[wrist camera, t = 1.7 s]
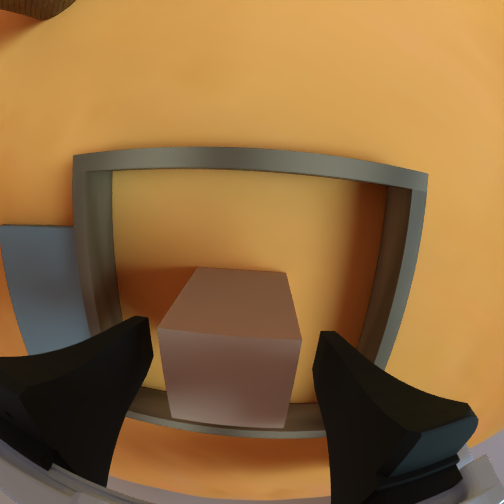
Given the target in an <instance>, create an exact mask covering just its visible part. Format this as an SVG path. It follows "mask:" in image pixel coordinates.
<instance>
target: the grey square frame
mask: <svg viewBox="0 0 504 504" xmlns="http://www.w3.org/2000/svg"><path fill="white" fill-rule="evenodd" d="M145 169H218V170H243V171H261V172H275V173H288V174H299V175H309V176H319V177H327V178H336V179H343V180H351V181H358V182H365V183H371V184H378V185H384V186H388V190H387V201H386V210H385V218H384V226H383V233H382V239H381V246H380V252H379V258H378V263H377V269H376V274H375V279H374V284H373V288H372V293H371V297H370V302H369V306H368V310H367V314H366V318H365V322H364V326H363V330H362V333H361V337H360V341H359V344H358V348H357V351H359V352H360V353H361V354H362V355H363V356H365V357H366V358H367V359H368V360H370V361H371V362H372V363H374V364H375V365H376V366H378V367H379V368H380V369H382V370H383V371H384V370H385V367H386V365H387V362H388V359H389V357H390V354H391V351H392V348H393V345H394V343H395V340H396V337H397V334H398V330H399V327H400V324H401V321H402V317H403V314H404V311H405V307H406V303H407V300H408V296H409V292H410V288H411V284H412V280H413V276H414V271H415V266H416V262H417V257H418V251H419V246H420V240H421V234H422V228H423V221H424V214H425V205H426V196H427V185H428V174H427V173H423V172H419V171H414V170H410V169H405V168H401V167H396V166H391V165H386V164H381V163H376V162H370V161H364V160H358V159H352V158H346V157H339V156H331V155H324V154H315V153H307V152H297V151H286V150H274V149H259V148H239V147H161V148H142V149H127V150H115V151H105V152H96V153H88V154H80V155H73V179H72V196H73V223H74V238H75V248H76V258H77V266H78V273H79V280H80V286H81V292H82V298H83V303H84V308H85V313H86V318H87V323H88V327H89V331H90V335H91V337H93V336H95V335H97V334H99V333H101V332H103V331H105V330H107V329H109V328H111V327H113V326H115V325H117V324H119V323H121V322H123V321H122V315H121V309H120V302H119V295H118V287H117V278H116V268H115V257H114V243H113V223H112V171H121V170H145ZM125 417H128V418H132V419H136V420H140V421H144V422H148V423H152V424H156V425H161V426H166V427H171V428H176V429H181V430H187V431H193V432H200V433H207V434H215V435H224V436H235V437H249V438H274V439H295V438H320V437H327V436H326V431H325V427H324V423H323V419H322V415H321V411H320V408H319V404H318V403H311V404H289V407H288V411H287V416H286V420H285V424H284V428H257V427H240V426H228V425H219V424H210V423H202V422H195V421H189V420H183V419H177V418H172V415H171V411H170V406H169V401H168V396H167V392H164V391H159V390H154V389H149V388H144V387H140V389H139V390H138V392H137V394H136V396H135V398H134V400H133V402H132V404H131V405H130V407H129V409H128V411H127V414H126V416H125Z"/></svg>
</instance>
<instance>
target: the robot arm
mask: <svg viewBox="0 0 504 504" xmlns="http://www.w3.org/2000/svg"><path fill="white" fill-rule="evenodd" d="M153 356H154V355H153V348H152V342H151V335H150V328H149V320H148V317H141V316H133V317H131V318H129V319H127V320H125V321H123V322H121V323H119V324H117V325H115V326H113V327H111V328H109V329H107V330H105V331H103V332H101V333H99V334H97V335H95V336H93V337H90V338H88V339H86V340H84V341H82V342H79V343H77V344H74V345H71V346H68V347H65V348H62V349H59V350H55V351H50V352H46V353H42V354H36V355H29V356H20V357H0V489H1V490H2V491H3V492H4V493H5V494H7V495H8V496H9V497H10V498H11V499H13V500H14V501H15V502H17V503H18V504H154V503H151V502H147V501H143V500H140V499H136V498H134V497H130V496H127V495H124V494H121V493H119V492H116V491H113V490H110V489H108V488H106V486H107V480H108V475H109V469H110V465H111V460H112V456H113V452H114V449H115V445H116V442H117V438H118V435H119V432H120V429H121V426H122V424H123V421H124V418H125V416H126V414H127V411H128V409H129V407H130V405H131V404H132V402H133V400H134V398H135V396H136V394H137V392H138V390H139V389H140V387H141V385H142V383H143V381H144V379H145V377H146V375H147V373H148V370H149V368H150V365H151V362H152V359H153ZM312 371H313V380H314V388H315V392H316V396H317V400H318V404H319V408H320V411H321V415H322V419H323V423H324V427H325V431H326V436H327V443H328V452H329V462H330V477H331V504H501V503H502V502H503V501H504V486H503V484H502V482H501V480H500V478H499V476H498V475H497V473H496V471H495V469H494V467H493V466H492V463H491V462H490V460H489V458H488V456H487V455H483V456H481V457H480V458H478V459H476V460H473V456H472V453H471V451H470V449H469V448H468V446H467V444H466V442H467V441H468V440H469V439H470V437H471V436H472V435H473V433H474V432H475V430H476V428H477V425H478V418H477V416H476V415H475V413H474V412H473V410H472V409H471V408H470V406H469V405H468V404H467V403H464V402H459V401H454V400H449V399H445V398H441V397H438V396H435V395H432V394H429V393H426V392H424V391H421V390H419V389H417V388H414V387H412V386H410V385H408V384H406V383H404V382H402V381H400V380H398V379H397V378H395V377H393V376H391V375H390V374H388V373H386V372H385V371H383V370H382V369H380V368H379V367H378V366H376V365H375V364H374V363H372V362H371V361H370V360H368V359H367V358H366V357H365V356H363V355H362V354H361V353H360V352H359V351H357V350H356V349H355V348H354V347H353V346H352V345H350V344H349V343H348V342H347V341H346V340H345V339H344V338H342V337H341V336H340V335H339V334H338V333H336V332H335V331H321V332H320V337H319V342H318V346H317V351H316V355H315V360H314V364H313V368H312Z"/></svg>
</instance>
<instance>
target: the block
mask: <svg viewBox="0 0 504 504" xmlns="http://www.w3.org/2000/svg"><path fill="white" fill-rule="evenodd" d="M157 331H158V339H159V347H160V354H161V361H162V367H163V373H164V379H165V385H166V390H167V396H168V401H169V406H170V411H171V415H172V418H177V419H183V420H189V421H195V422H202V423H210V424H219V425H228V426H240V427H257V428H284V424H285V420H286V416H287V411H288V407H289V403H290V398H291V393H292V389H293V384H294V379H295V374H296V369H297V364H298V359H299V354H300V348H301V343H302V338H301V333H300V329H299V325H298V320H297V316H296V312H295V308H294V303H293V299H292V295H291V291H290V287H289V283H288V279H287V275H286V273H283V272H267V271H252V270H237V269H223V268H209V267H197V269H196V270H195V271H194V273H193V274H192V276H191V277H190V279H189V280H188V282H187V283H186V285H185V286H184V288H183V289H182V291H181V292H180V294H179V295H178V297H177V298H176V300H175V301H174V303H173V304H172V306H171V307H170V309H169V310H168V312H167V313H166V315H165V316H164V318H163V319H162V321H161V322H160V324H159V325H158V327H157Z"/></svg>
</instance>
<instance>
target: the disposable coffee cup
mask: <svg viewBox="0 0 504 504" xmlns="http://www.w3.org/2000/svg"><path fill="white" fill-rule="evenodd" d="M74 1H75V0H0V9H1V10H6V11H11V12H15V13H18V14H23V15H26V16H29V17H33V18H36V19H39V20H45V19H49V18H51V17H53V16H55V15H57V14H58V13H60V12H61V11H63V10H64V9H65V8H67V7H68V6H69V5H71V4H72V3H73V2H74Z"/></svg>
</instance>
